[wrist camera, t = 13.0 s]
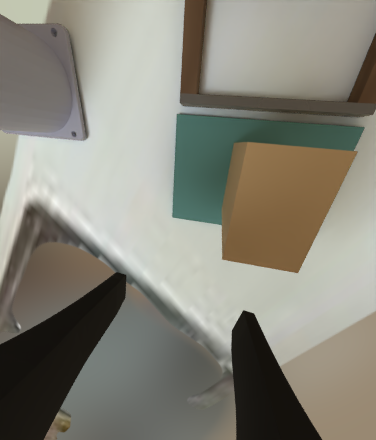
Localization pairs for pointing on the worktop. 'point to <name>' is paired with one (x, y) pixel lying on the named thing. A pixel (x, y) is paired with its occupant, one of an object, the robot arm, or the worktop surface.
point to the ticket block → (278, 201)
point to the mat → (222, 151)
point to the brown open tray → (189, 96)
